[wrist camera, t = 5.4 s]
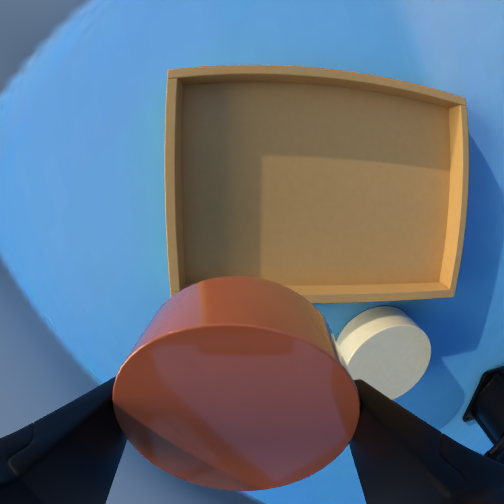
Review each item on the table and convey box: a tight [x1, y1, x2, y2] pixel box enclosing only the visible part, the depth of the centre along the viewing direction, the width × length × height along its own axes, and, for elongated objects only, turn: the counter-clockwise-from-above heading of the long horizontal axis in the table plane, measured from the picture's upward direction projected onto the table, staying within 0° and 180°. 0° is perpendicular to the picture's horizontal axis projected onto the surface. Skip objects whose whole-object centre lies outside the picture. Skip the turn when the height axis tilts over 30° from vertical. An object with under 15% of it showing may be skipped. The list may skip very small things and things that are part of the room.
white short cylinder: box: [336, 306, 431, 400], centre depth 19 cm, size 6×6×3 cm
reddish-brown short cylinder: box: [112, 276, 360, 491], centre depth 8 cm, size 6×6×3 cm
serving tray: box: [165, 65, 469, 303], centre depth 16 cm, size 13×18×2 cm
